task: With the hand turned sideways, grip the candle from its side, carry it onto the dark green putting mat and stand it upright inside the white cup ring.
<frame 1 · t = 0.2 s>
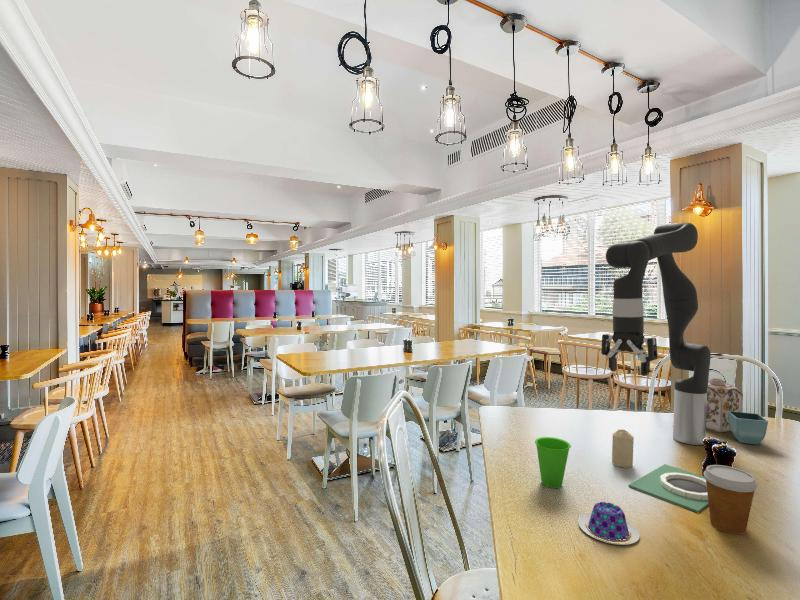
hand: (628, 373, 119), 29 cm above the table, tool pointing down, fingers open, 8 cm apart
putting green: (679, 486, 114), on the table
flower pot: (746, 442, 147), on the table
cup: (551, 484, 115), on the table
pudding: (608, 532, 94), on the table
disposable coffee cup: (727, 527, 96), on the table
candle: (622, 464, 128), on the table
decorative jar: (715, 426, 162), on the table
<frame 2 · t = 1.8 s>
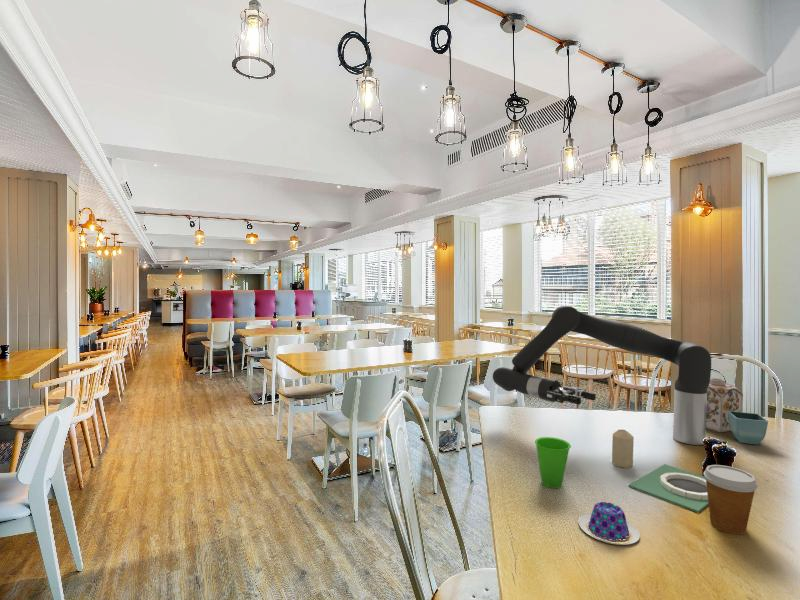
hand: (587, 399, 136), 17 cm above the table, tool horizontal, fingers open, 8 cm apart
nothing on the table moved.
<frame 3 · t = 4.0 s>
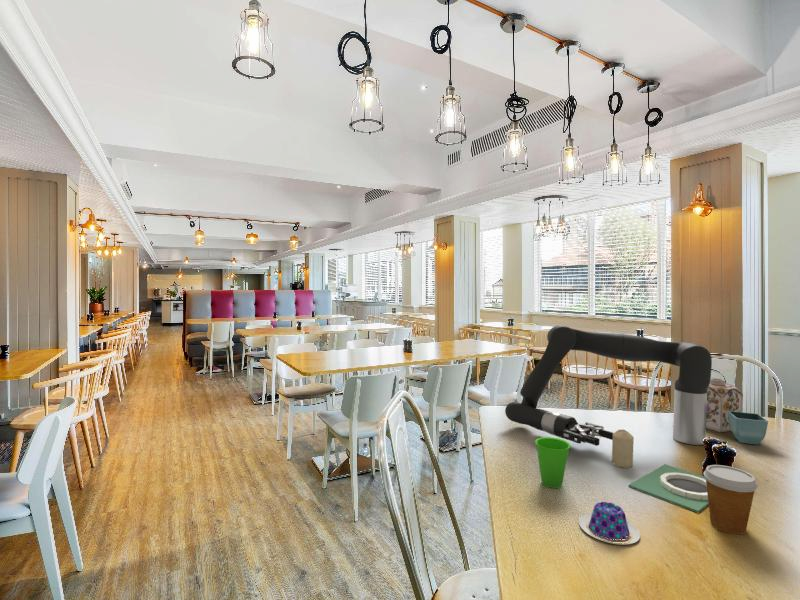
hand: (606, 439, 132), 6 cm above the table, tool horizontal, fingers open, 8 cm apart
nothing on the table moved.
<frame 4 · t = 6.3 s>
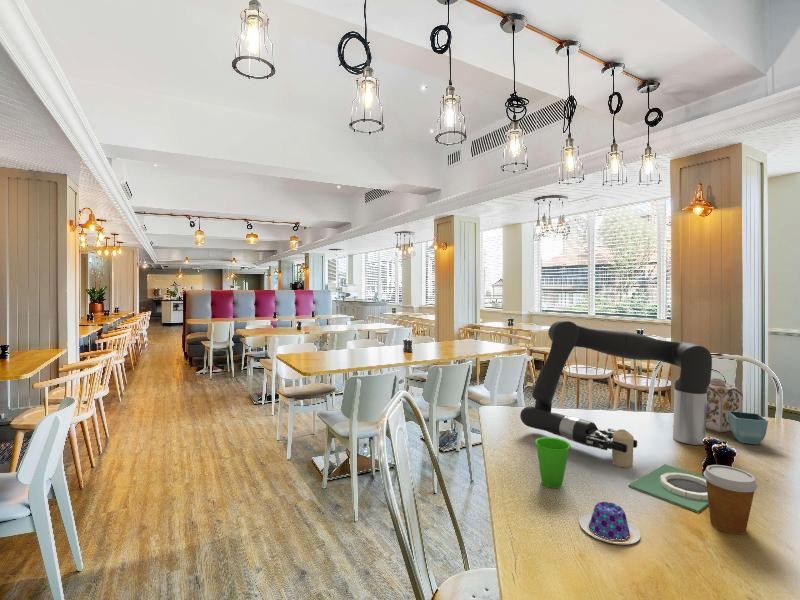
hand: (631, 446, 126), 6 cm above the table, tool horizontal, fingers closed on candle, 5 cm apart
candle: (622, 464, 128), on the table, touching gripper
everything else where it was.
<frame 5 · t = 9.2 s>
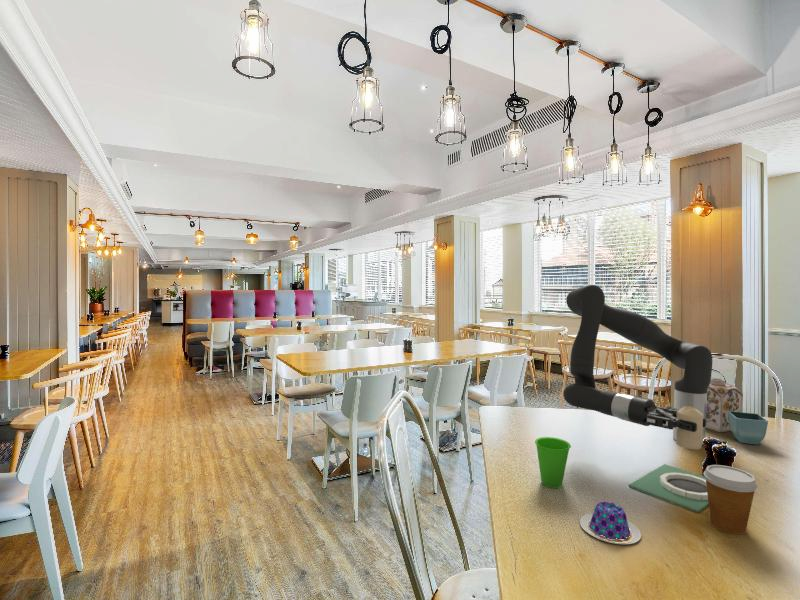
hand: (700, 425, 110), 18 cm above the table, tool horizontal, fingers closed on candle, 5 cm apart
candle: (688, 446, 112), point 11 cm above the table, touching gripper
everything else where it was.
when the fingers open (7 cm above the table, at t = 12.0 s): candle stays where it is, resting on putting green.
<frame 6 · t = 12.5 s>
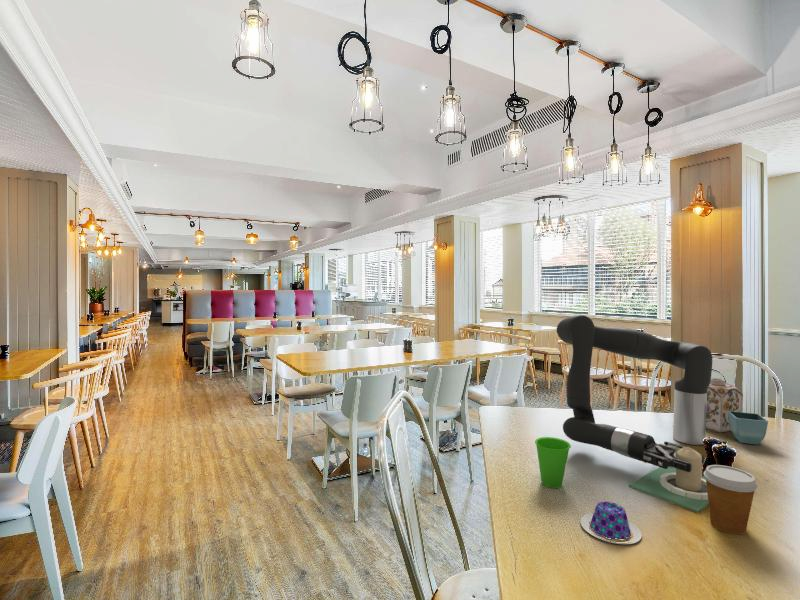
hand: (697, 463, 111), 7 cm above the table, tool horizontal, fingers open, 8 cm apart
candle: (688, 487, 113), point 1 cm above the table, touching putting green
everything else where it was.
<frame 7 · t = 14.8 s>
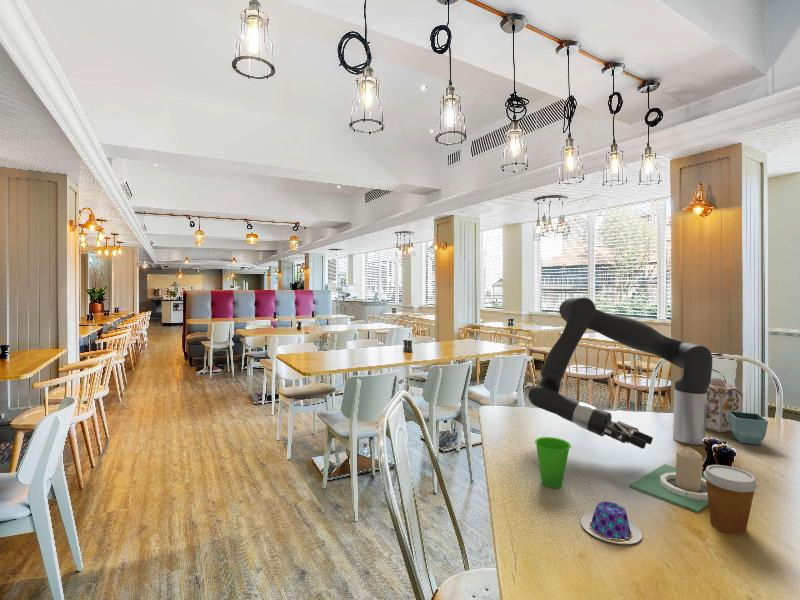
hand: (648, 443, 123), 8 cm above the table, tool horizontal, fingers open, 8 cm apart
nothing on the table moved.
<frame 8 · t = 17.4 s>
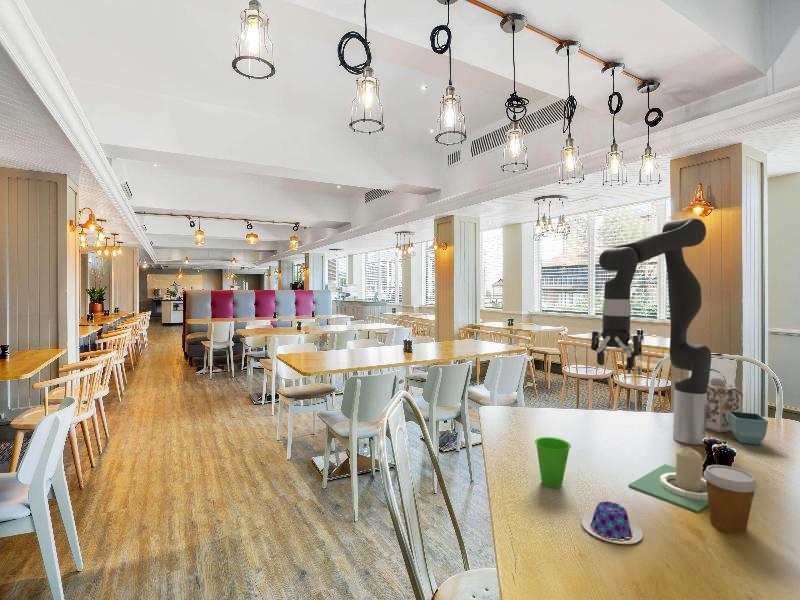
hand: (614, 367, 131), 28 cm above the table, tool pointing down, fingers open, 8 cm apart
nothing on the table moved.
at the end: candle 0.1 cm from the target spot on the putting green, point 0.5 cm above the putting green's base; candle tilted 0°; the gripper is holding nothing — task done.
